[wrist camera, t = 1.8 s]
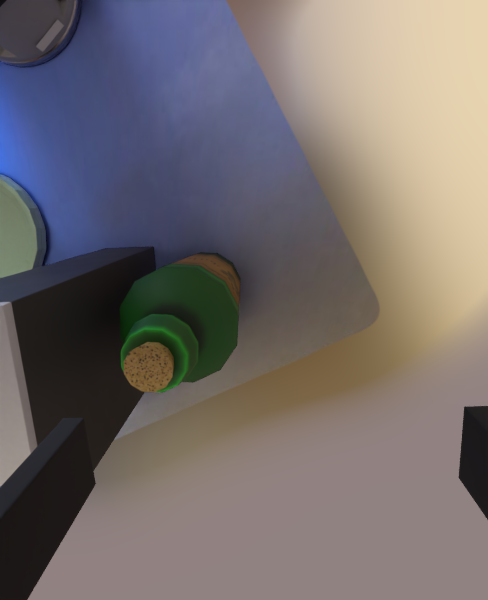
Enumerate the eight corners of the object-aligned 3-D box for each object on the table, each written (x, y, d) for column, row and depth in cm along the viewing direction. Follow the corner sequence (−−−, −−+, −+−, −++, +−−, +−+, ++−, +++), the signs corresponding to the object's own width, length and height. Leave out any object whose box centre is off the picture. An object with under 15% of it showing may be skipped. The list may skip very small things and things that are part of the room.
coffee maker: (78, 365, 57) (-130, 546, 27) (61, 249, 53) (-203, 311, 23) (164, 364, 56) (48, 548, 26) (153, 246, 52) (2, 305, 23)
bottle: (259, 257, 52) (252, 319, 25) (235, 332, 55) (204, 462, 27) (180, 232, 52) (85, 265, 25) (159, 308, 54) (53, 415, 27)
